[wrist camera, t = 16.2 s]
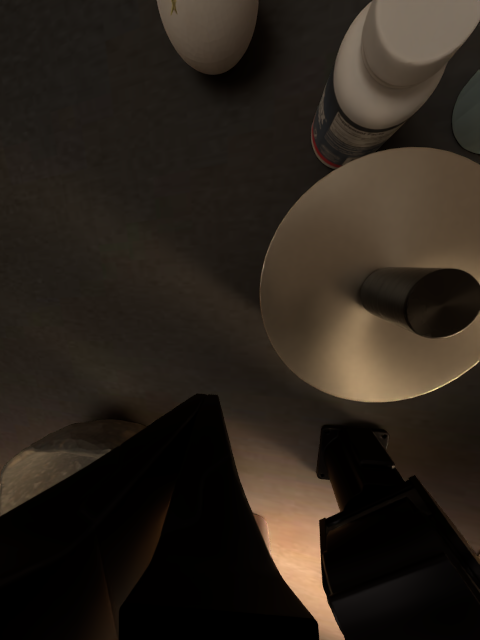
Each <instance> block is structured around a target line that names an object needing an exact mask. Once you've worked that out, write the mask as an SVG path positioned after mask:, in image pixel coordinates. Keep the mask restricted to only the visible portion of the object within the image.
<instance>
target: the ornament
mask: <svg viewBox="0 0 480 640" xmlns="http://www.w3.org/2000/svg"><path fill="white" fill-rule="evenodd" d="M258 2H259V0H157V3H158V8H159V12H160V16H161V19H162V22H163V25H164V28H165V30H166V33H167V35H168V37H169V39H170V41H171V43H172V44H173V46H174V48H175V49H176V51H177V52H178V54H179V55H180V56H181V57H182V59H183V60H184V61H185V62H186V63H187V64H188V65H190V66H191V67H192V68H194V69H195V70H197V71H199V72H202V73H204V74H209V75H216V74H221V73H224V72H226V71H228V70H230V69H231V68H233V67H234V66H235V65H236V64H237V63H238V62H239V60H240V59H241V58H242V56H243V55H244V53H245V52H246V50H247V48H248V46H249V43H250V41H251V39H252V36H253V32H254V29H255V25H256V19H257V13H258Z"/></svg>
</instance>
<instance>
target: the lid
mask: <svg viewBox="0 0 480 640" xmlns="http://www.w3.org/2000/svg"><path fill="white" fill-rule="evenodd" d="M259 292H260V308H261V314H262V320H263V323H264V327H265V330H266V333H267V335H268V337H269V340H270V342H271V344H272V346H273V348H274V349H275V351H276V352H277V354H278V355H279V357H280V358H281V360H282V361H283V362H284V363H285V364H286V365H287V367H288V368H289V369H290V370H291V371H293V372H294V373H295V374H296V375H297V376H298V377H299V378H301V379H302V380H304V381H305V382H306V383H308V384H309V385H311V386H313V387H315V388H317V389H319V390H321V391H322V392H325V393H327V394H330V395H333V396H336V397H339V398H343V399H347V400H352V401H360V402H390V401H398V400H403V399H408V398H413V397H416V396H419V395H422V394H425V393H428V392H430V391H433V390H435V389H437V388H440V387H442V386H444V385H446V384H448V383H449V382H451V381H453V380H455V379H456V378H458V377H460V376H461V375H462V374H464V373H465V372H467V371H468V370H469V369H471V368H472V367H473V366H474V365H476V364H477V363H478V362H479V361H480V165H479V164H477V163H476V162H474V161H472V160H470V159H469V158H466V157H464V156H461V155H458V154H455V153H453V152H450V151H445V150H440V149H434V148H424V147H405V148H395V149H388V150H384V151H379V152H375V153H371V154H368V155H365V156H363V157H360V158H358V159H355V160H352V161H350V162H348V163H346V164H345V165H343V166H341V167H339V168H337V169H335V170H333V171H332V172H330V173H329V174H328V175H326V176H325V177H323V178H322V179H320V180H319V181H318V182H316V183H315V184H314V185H313V186H312V187H311V188H310V189H309V190H307V191H306V192H305V193H304V194H303V195H302V196H301V197H300V198H299V199H298V201H297V202H296V203H295V204H294V205H293V206H292V207H291V209H290V210H289V211H288V213H287V214H286V216H285V217H284V219H283V220H282V221H281V223H280V224H279V226H278V228H277V230H276V232H275V234H274V236H273V238H272V240H271V242H270V244H269V247H268V250H267V252H266V255H265V258H264V262H263V267H262V271H261V278H260V288H259Z"/></svg>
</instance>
